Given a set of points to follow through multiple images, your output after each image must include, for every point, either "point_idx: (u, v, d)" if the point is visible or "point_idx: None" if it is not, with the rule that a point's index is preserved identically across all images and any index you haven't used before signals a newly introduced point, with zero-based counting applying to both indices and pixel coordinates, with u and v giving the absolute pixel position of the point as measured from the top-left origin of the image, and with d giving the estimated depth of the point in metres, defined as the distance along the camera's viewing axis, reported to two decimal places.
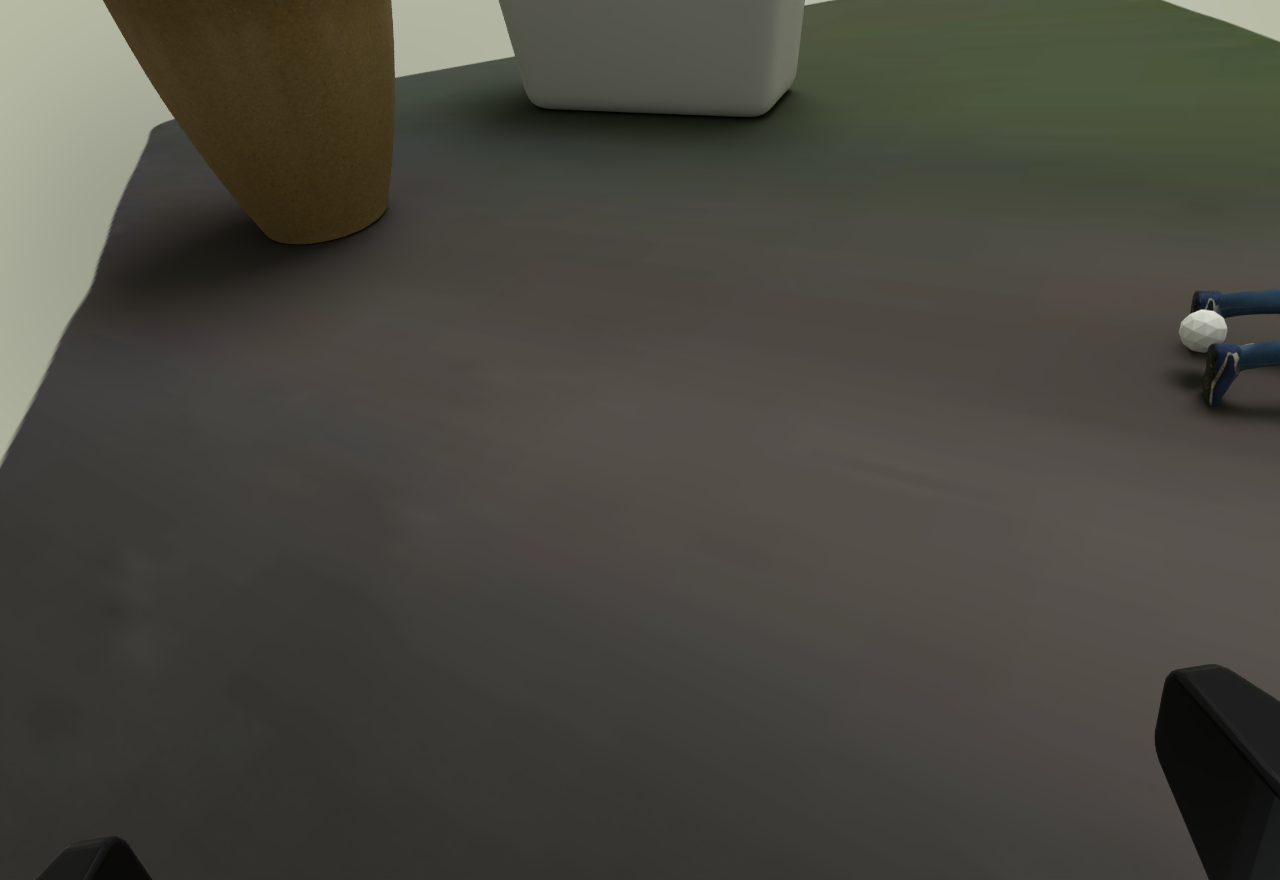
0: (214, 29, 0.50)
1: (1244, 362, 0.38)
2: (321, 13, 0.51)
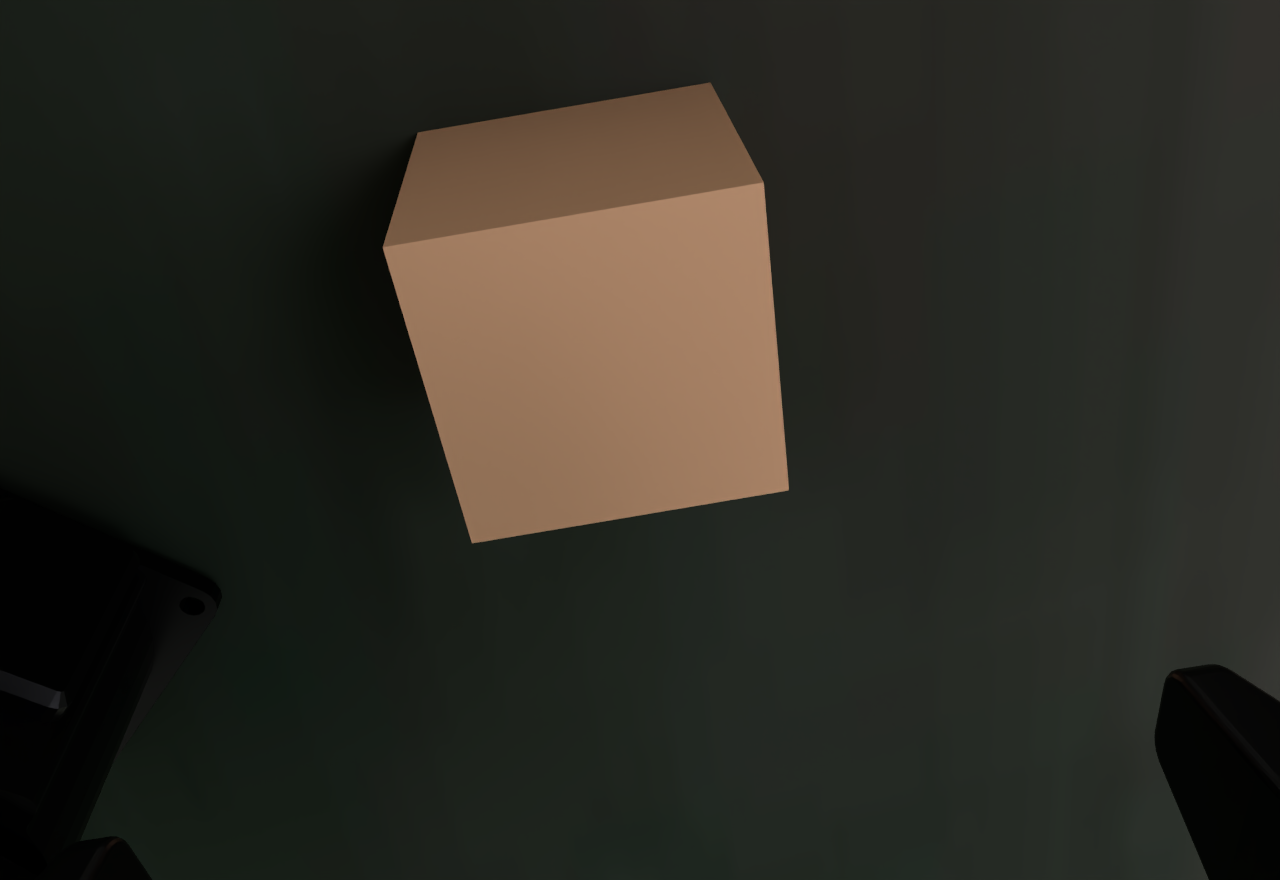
0: None
1: None
2: None
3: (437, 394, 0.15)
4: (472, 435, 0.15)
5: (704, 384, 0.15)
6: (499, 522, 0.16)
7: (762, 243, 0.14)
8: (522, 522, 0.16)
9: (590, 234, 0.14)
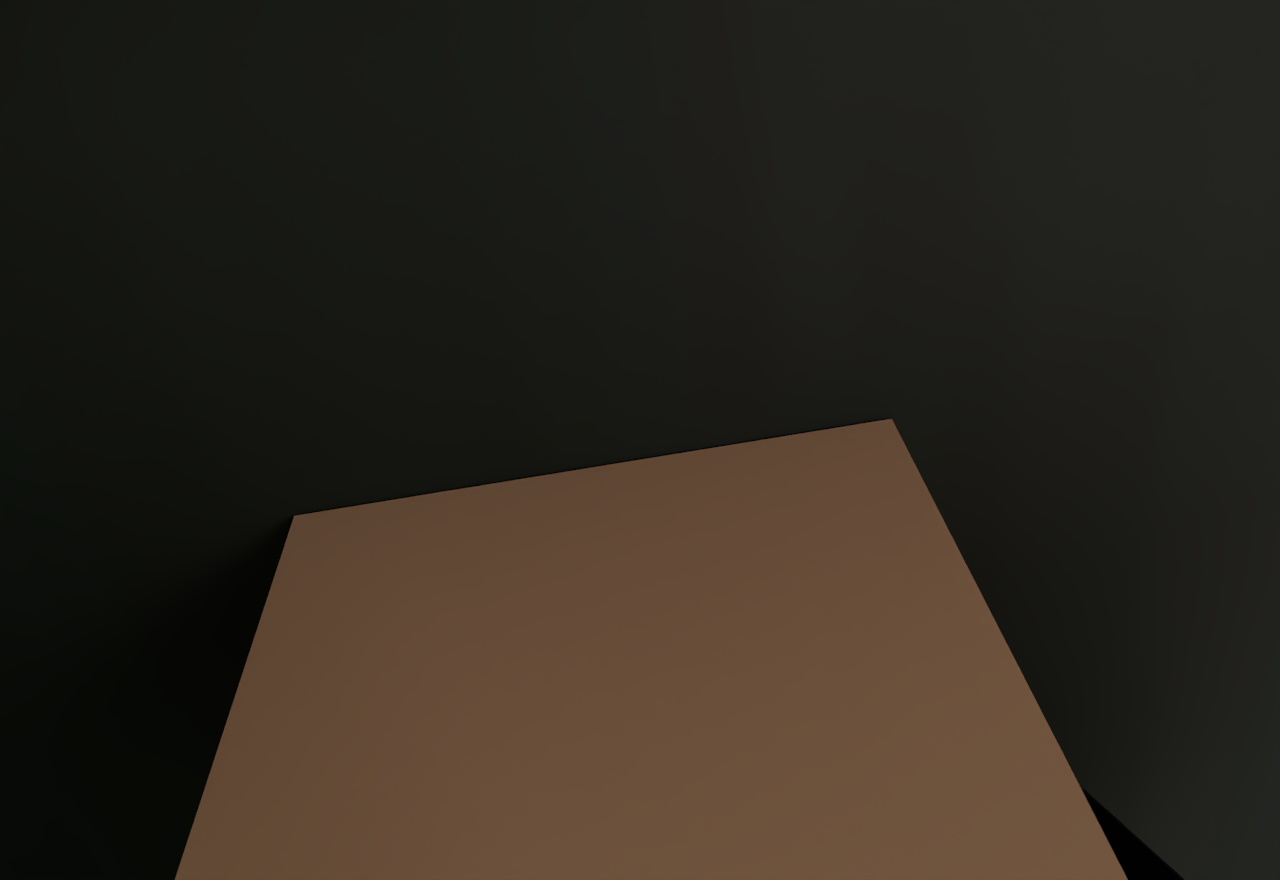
0: None
1: None
2: None
3: None
4: None
5: None
6: None
7: None
8: None
9: None
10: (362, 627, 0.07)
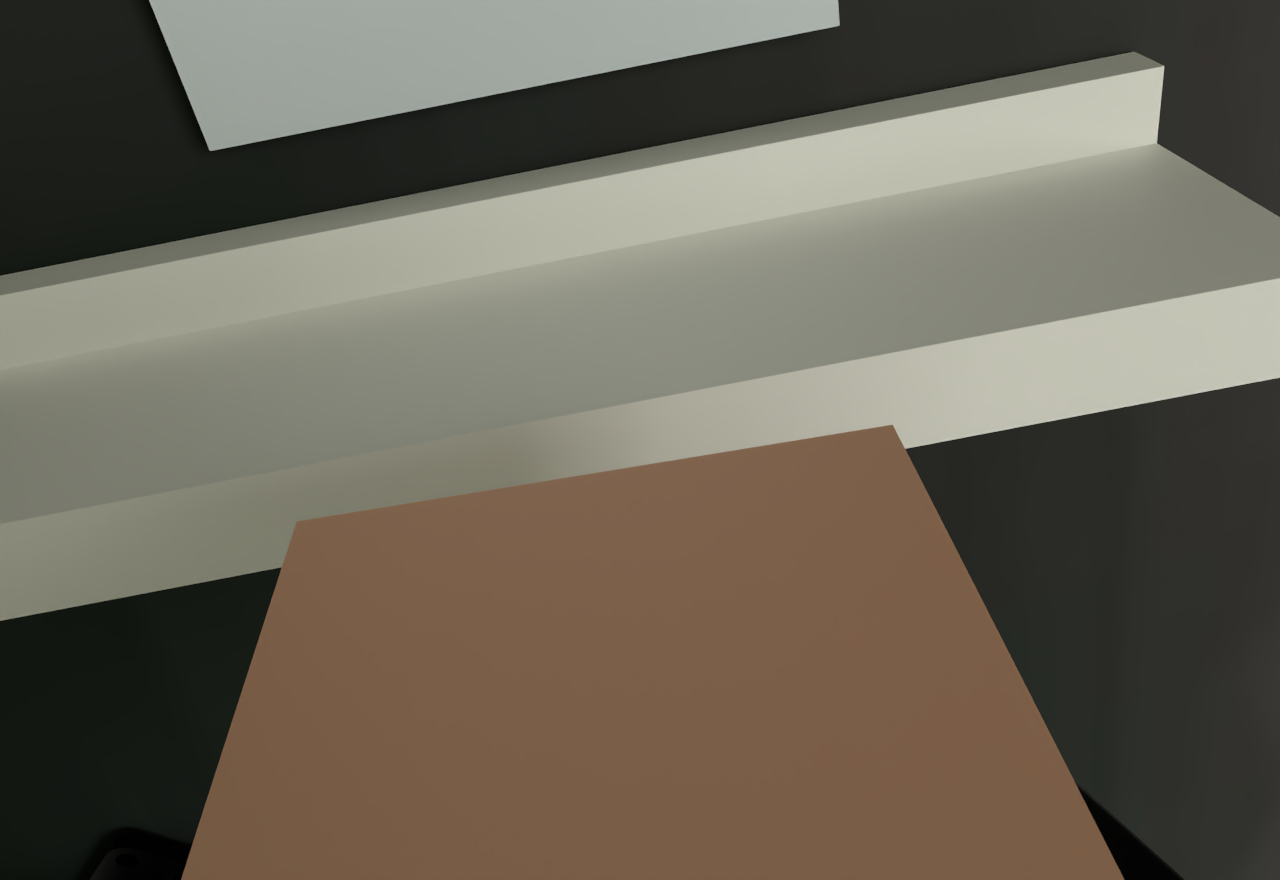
0: None
1: None
2: None
3: None
4: None
5: None
6: None
7: None
8: None
9: None
10: (364, 634, 0.07)
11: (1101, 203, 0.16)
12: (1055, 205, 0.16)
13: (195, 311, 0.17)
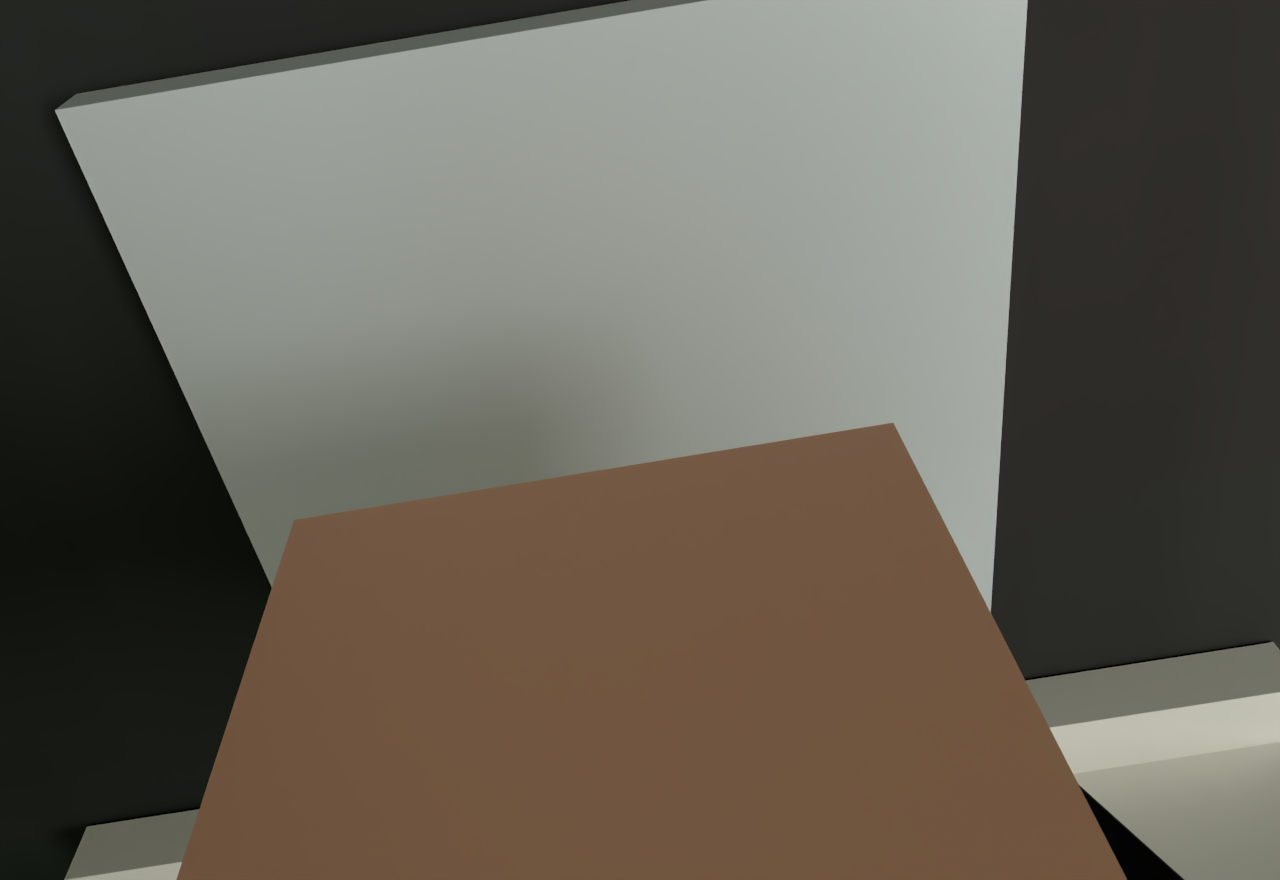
0: None
1: None
2: None
3: None
4: None
5: None
6: None
7: None
8: None
9: None
10: (362, 633, 0.07)
11: (1248, 857, 0.16)
12: (1200, 849, 0.16)
13: None
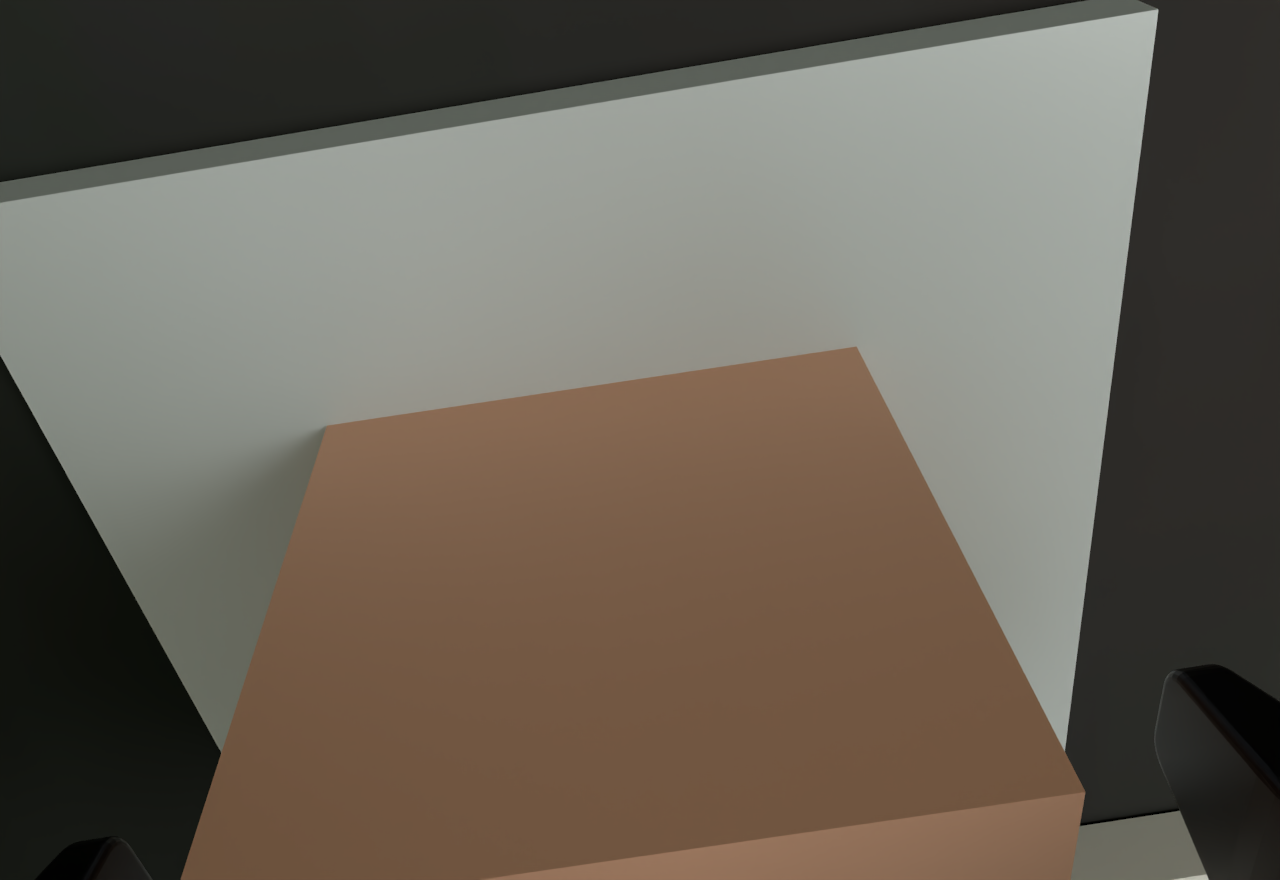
0: None
1: None
2: None
3: None
4: None
5: None
6: None
7: None
8: None
9: None
10: (391, 511, 0.09)
11: None
12: None
13: None
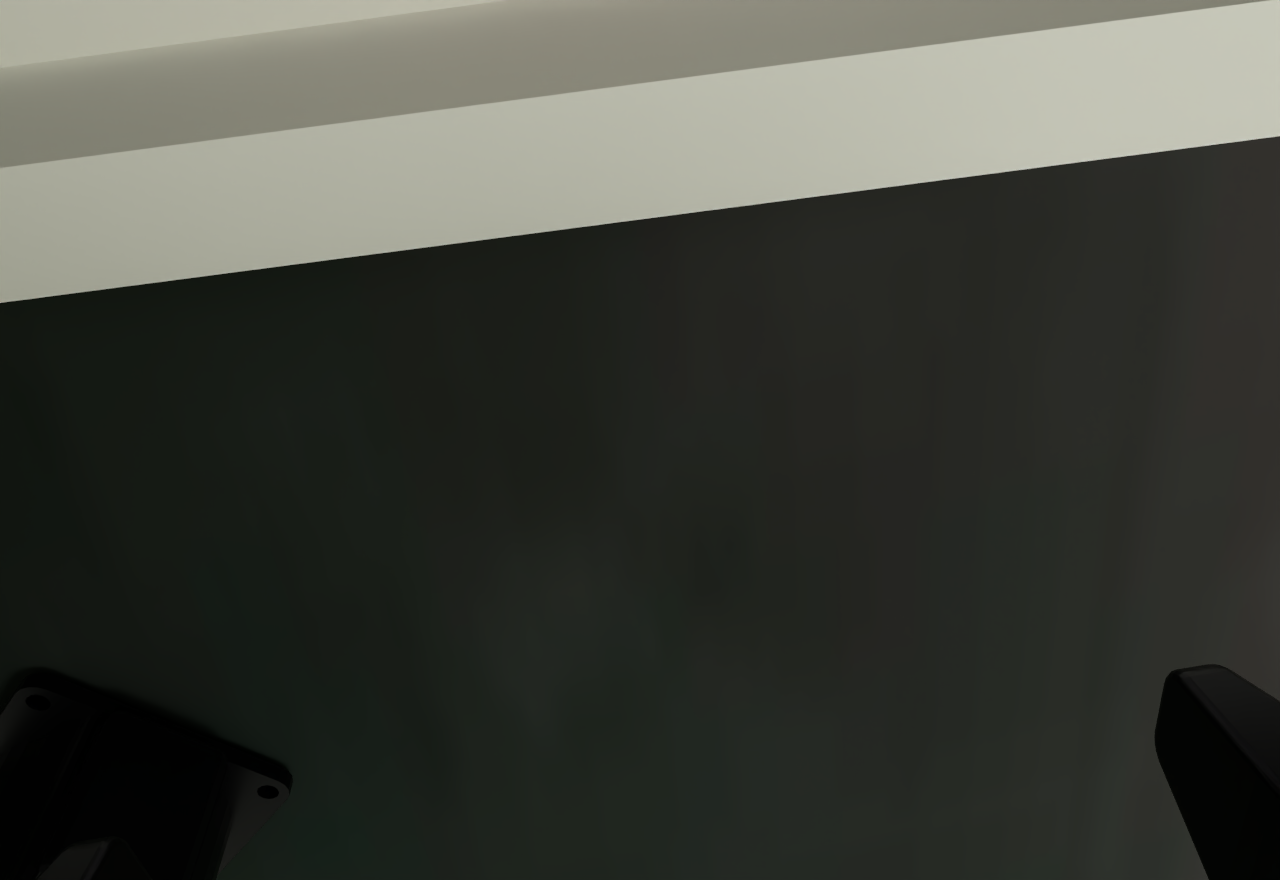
0: None
1: None
2: None
3: None
4: None
5: None
6: None
7: None
8: None
9: None
10: None
11: None
12: None
13: (120, 24, 0.15)
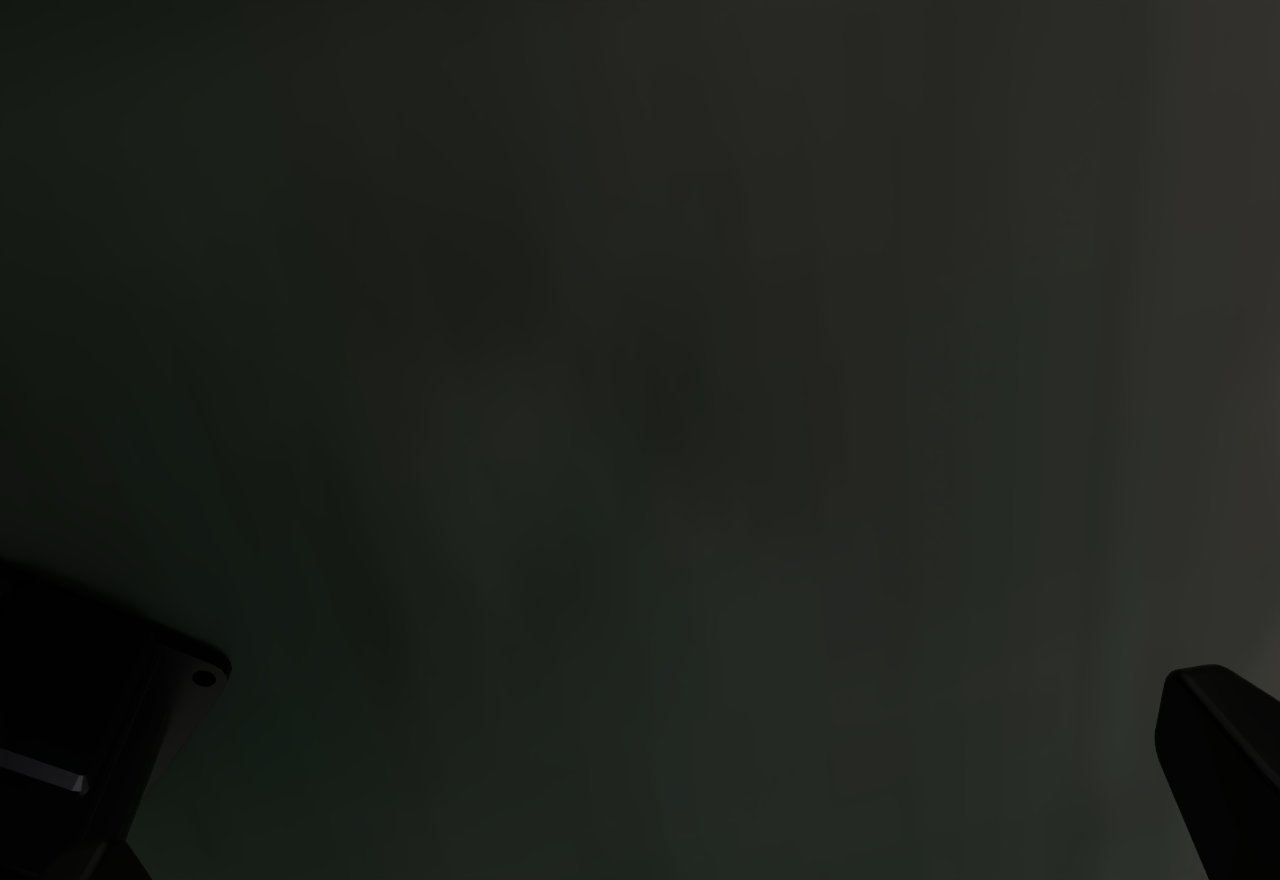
0: None
1: None
2: None
3: None
4: None
5: None
6: None
7: None
8: None
9: None
10: None
11: None
12: None
13: None
